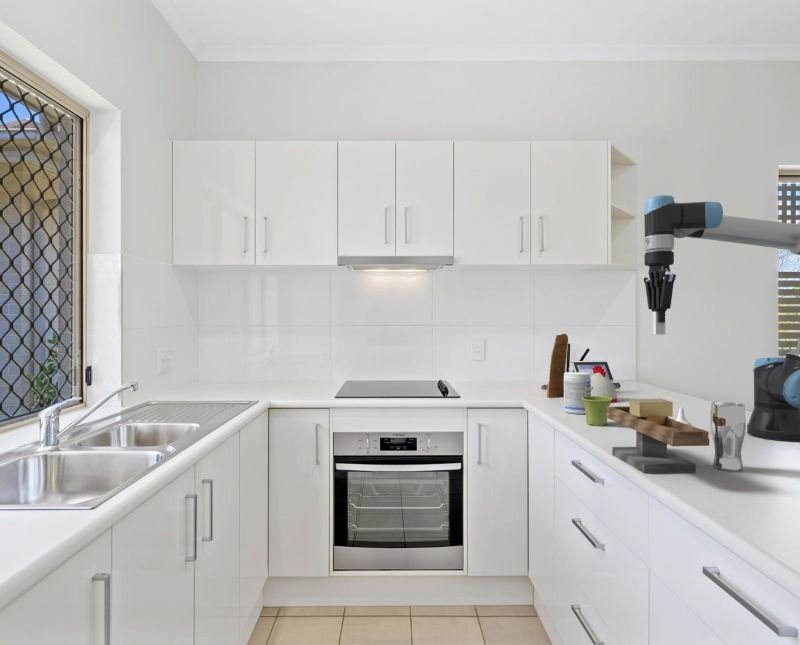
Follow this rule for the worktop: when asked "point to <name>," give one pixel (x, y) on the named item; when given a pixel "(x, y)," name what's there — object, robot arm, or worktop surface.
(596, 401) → the plant pot
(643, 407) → the brass rider
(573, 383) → the supplement tub
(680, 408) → the garlic bulb
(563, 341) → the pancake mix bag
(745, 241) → the robot arm
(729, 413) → the beer glass
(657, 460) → the balance beam
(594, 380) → the kitchen timer
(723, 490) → the worktop surface
